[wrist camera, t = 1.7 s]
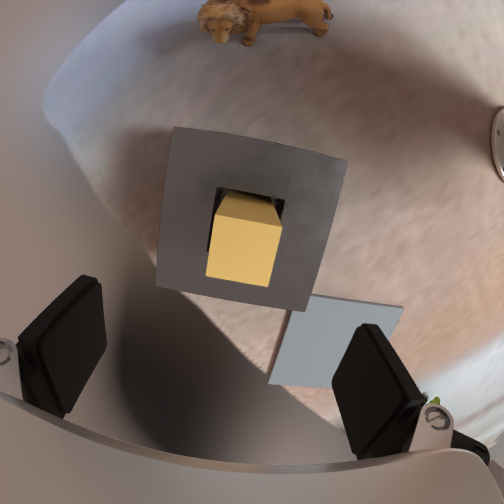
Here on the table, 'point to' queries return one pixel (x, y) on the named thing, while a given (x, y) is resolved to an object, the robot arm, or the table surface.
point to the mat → (325, 338)
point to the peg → (244, 239)
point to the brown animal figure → (258, 16)
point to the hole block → (254, 181)
